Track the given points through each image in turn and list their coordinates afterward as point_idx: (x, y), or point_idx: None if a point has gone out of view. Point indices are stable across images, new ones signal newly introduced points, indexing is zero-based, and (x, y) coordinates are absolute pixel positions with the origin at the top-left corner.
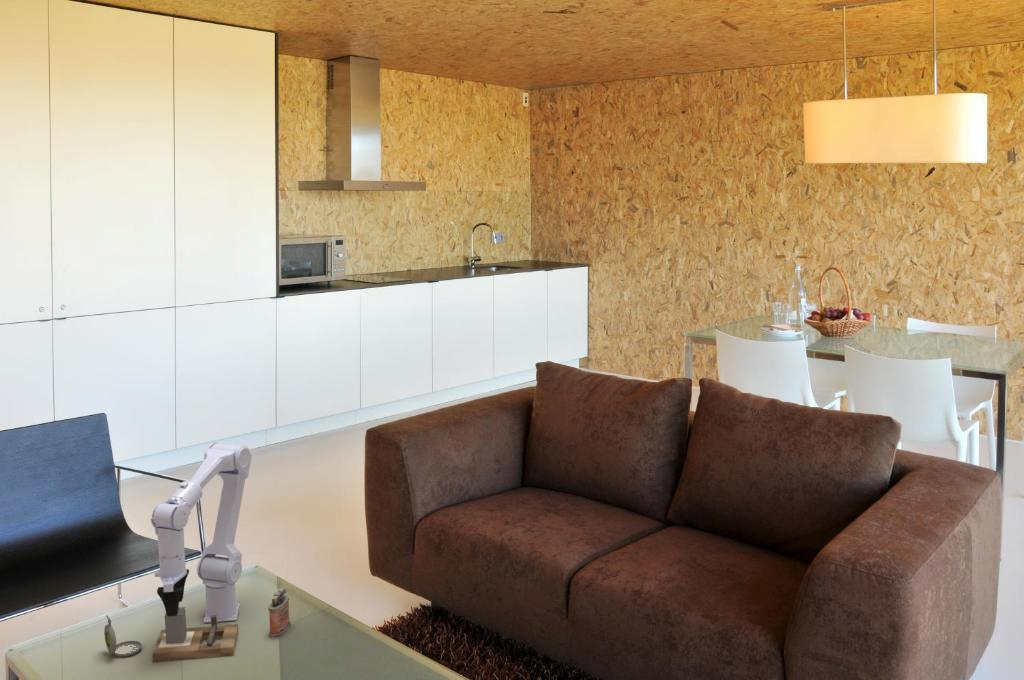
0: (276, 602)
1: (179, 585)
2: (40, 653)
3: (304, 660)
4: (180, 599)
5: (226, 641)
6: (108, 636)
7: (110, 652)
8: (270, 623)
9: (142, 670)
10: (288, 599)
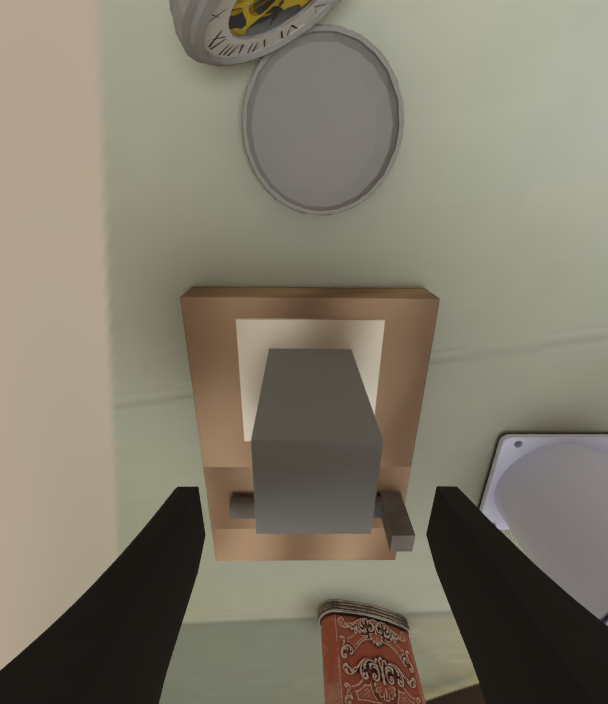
0: None
1: (504, 691)
2: None
3: (178, 660)
4: (432, 545)
5: (262, 541)
6: None
7: (241, 27)
8: (330, 653)
9: (115, 254)
10: None
